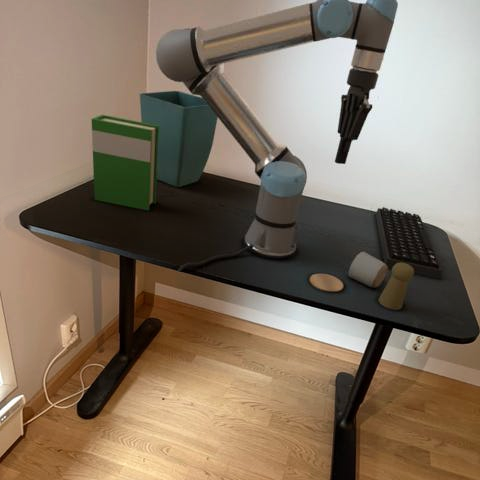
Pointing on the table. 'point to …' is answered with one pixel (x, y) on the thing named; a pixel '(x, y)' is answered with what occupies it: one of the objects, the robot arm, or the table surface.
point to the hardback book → (125, 161)
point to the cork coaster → (326, 282)
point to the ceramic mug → (368, 270)
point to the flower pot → (180, 134)
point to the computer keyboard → (406, 242)
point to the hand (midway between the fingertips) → (339, 162)
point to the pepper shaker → (396, 286)
